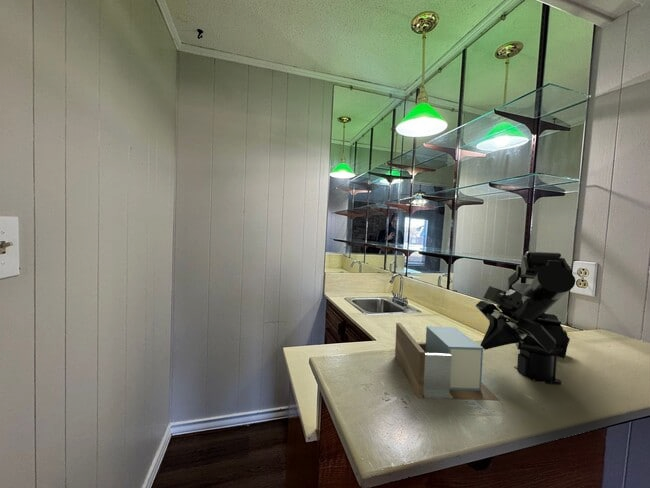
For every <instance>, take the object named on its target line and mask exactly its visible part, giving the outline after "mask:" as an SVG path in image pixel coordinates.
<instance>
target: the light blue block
mask: <svg viewBox="0 0 650 488" xmlns="http://www.w3.org/2000/svg"><path fill="white" fill-rule="evenodd" d="M425 333H426V334H425V343H426V348H425V353H443V354H451V355H452V360H451V380H450V390H476V391H481V382H482V375H483V374H482V373H483V356H484V349H483V347H481V346H480V345H481V344H478V343H477V342H476V341H475V340H473V339H472V338H470V337H469V336H468V335H466V334H465V333H464V332H462V331H461V330H459V329H458V328H456V327H455V326H437V325H435V326H432V325H429V326H428V325H427V326H426V329H425Z"/></svg>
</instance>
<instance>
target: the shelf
mask: <svg viewBox="0 0 650 488" xmlns="http://www.w3.org/2000/svg"><path fill="white" fill-rule="evenodd" d="M394 345H395V350H394V351H395V352H394V358H395V359H396V361H397V363H398V365H399V367H400V368H401V370H402V372H403V374H404V375H405V378H406V379H407V381H408V383H409V384H410V387H411V388H412V390H413V391H414V393H415V395H416V397H417V399H425V398H424V396H423V391H424V369H425V348H426V342H423V341H421V342H417V341H416V339H415V338H414V337H413V336H412V335H411V334H410V332H409V331H408V330H407V329H406V328H405V326H404V325H403V324H402V323H401V322H396V324H395V344H394ZM450 394H451V396H452V397H453V399H452V400H474V401H475V400H479V401H501V400H500V398H499V397H497V395H496V394H494V393H493V392H492V390H490V388H489V387H487V386H486V385H485V384H484V383H483V382H482V381H481V391H476V390H450ZM436 399H438V400H439V399H442V400H446V399H445V398H436Z"/></svg>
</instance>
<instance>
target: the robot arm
mask: <svg viewBox="0 0 650 488" xmlns="http://www.w3.org/2000/svg"><path fill="white" fill-rule="evenodd" d="M520 279H529V280H532V281H531V283H523V282H518V281H519V280H520ZM575 285H576V278H575V276H574V274H573V269H572V267H571V266H570V265H569V264H568V262H567V261H566V258H564V257H562V254H561V253H560V252H549V251H548V252H544V251H526V252H525V253H524V255H522V256H521V260H520V264H519V265H518V264H517V265H516V269H515V272H514V273H513V274H511V275H510V276H509V277H508V279H507V285H506V291H505V290H503V289H500V288H498V287H494V286H491V285H489V286H488V287H487V289H486V291H485V293H484V295H483V299H485V300H480V301H478V302H477V303H476V304H475V308H477V309H478V310H479V311H480V313H481V314H482V315H483V316H484V317H485V318H486V319H487V320H488V322H489V325H488V327H487V330H486V332H485V334H484V336H483V339H482V340H481V342H480V344H479V345H480V346H481V347H483V350H490V349H495V348H500V347H502V346H506V345H513V344H515V346H516V349H517V350H519V353H518V354H517V364H516V365H517V366H513V368H514V369H515V370H517V371H518V372H519V373H520V374H522V375H523V376H525V377H527V378H528V379H530V380H531V381H532V382H539V383H540V382H542V383H546V384H552V385H553V384H559V385H562V384H563V383H562V380H560V379H559V378H557V377H556V375H557V374H556V373H557V362H558V359H557V358H560V359H565V357H566V356H567V350H568V345H569V343H570V341H571V339H570V337H569V336H568V333H567V331H566V330H565V329H564V328H563V326H562V322H561V321H560V320H559V318H558V316H557V315H556V314H551V313H546V312H548V310H549V309H550V308H551V307H553V306H554V305H555V304H556V303H557V302H558V301H559V300H560V299H561V298H562V297H564V296H565V295H566V294H568V293H569V292H570V291H571V290H572V289H573V288H574V287H575ZM487 300H489V301H490V302H489V301H487ZM492 302H493V303H492ZM496 304H497V305H496Z"/></svg>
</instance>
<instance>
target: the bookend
mask: <svg viewBox="0 0 650 488" xmlns="http://www.w3.org/2000/svg"><path fill="white" fill-rule="evenodd" d="M451 360H452V355H451V354H443V353H425V369H424V391H423V396H424V398H423V399H437V398H445V399H444V400H454V399H453V397H452V396H451V394H450V380H451Z"/></svg>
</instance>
